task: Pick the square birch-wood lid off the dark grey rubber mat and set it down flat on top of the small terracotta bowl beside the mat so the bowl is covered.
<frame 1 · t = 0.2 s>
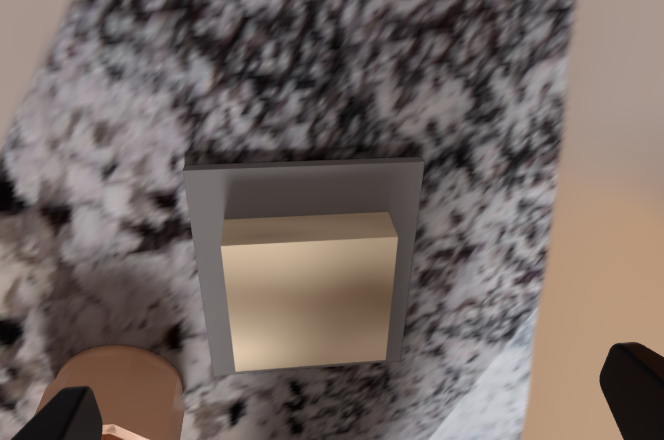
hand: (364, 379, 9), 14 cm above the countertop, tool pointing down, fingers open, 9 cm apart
mat: (307, 273, 25), on the countertop
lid: (307, 280, 25), resting on mat
bowl: (121, 387, 28), on the countertop
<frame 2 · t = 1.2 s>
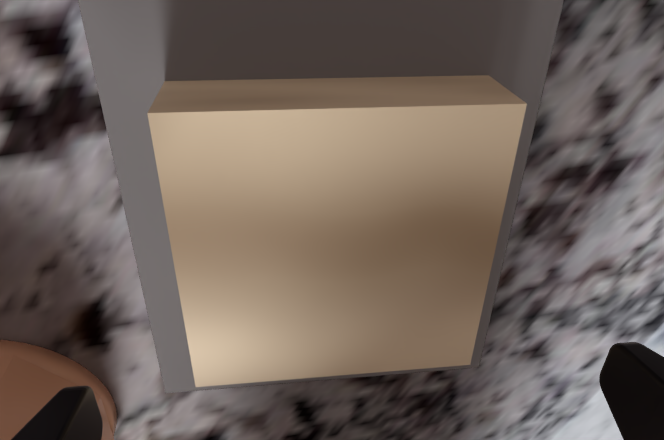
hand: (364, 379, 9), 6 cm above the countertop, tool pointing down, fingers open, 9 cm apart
mat: (327, 208, 14), on the countertop
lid: (330, 217, 13), resting on mat
bowl: (10, 412, 16), on the countertop
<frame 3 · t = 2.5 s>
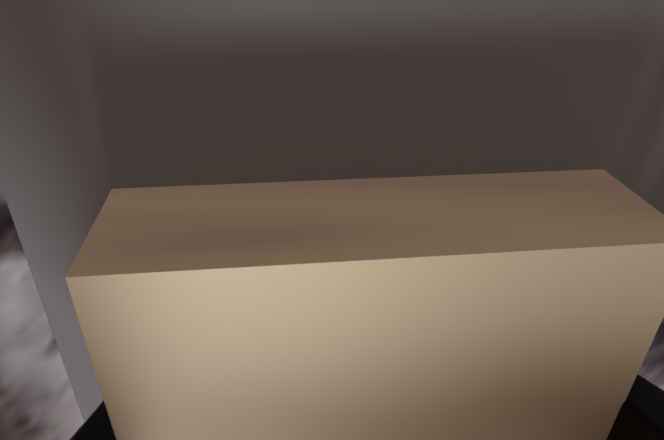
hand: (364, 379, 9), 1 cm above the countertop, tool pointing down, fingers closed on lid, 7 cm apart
mat: (355, 337, 10), on the countertop
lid: (359, 357, 9), resting on mat, touching gripper
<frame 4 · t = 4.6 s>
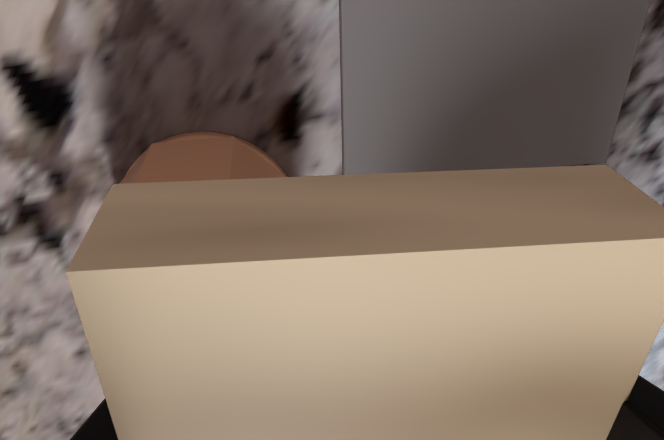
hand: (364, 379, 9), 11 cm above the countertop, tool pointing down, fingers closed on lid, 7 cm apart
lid: (361, 354, 9), point 10 cm above the countertop, touching gripper
bowl: (210, 211, 19), on the countertop
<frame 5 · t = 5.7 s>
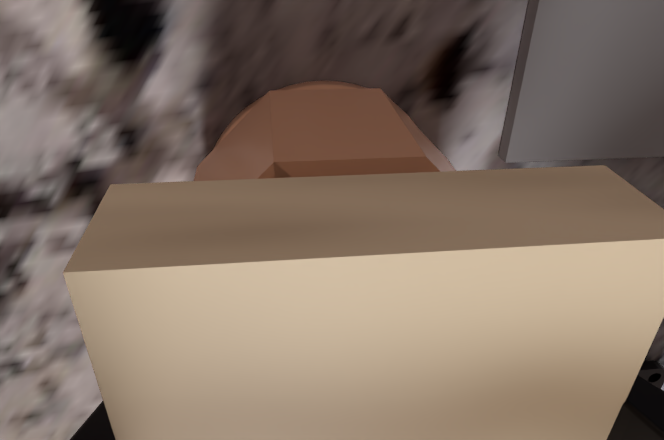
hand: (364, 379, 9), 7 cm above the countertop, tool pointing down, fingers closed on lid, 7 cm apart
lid: (359, 354, 9), point 6 cm above the countertop, touching gripper
bowl: (321, 192, 15), on the countertop
when the fingers open (6 cm above the countertop, at t = 6.7 s): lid drops 1 cm, resting on bowl.
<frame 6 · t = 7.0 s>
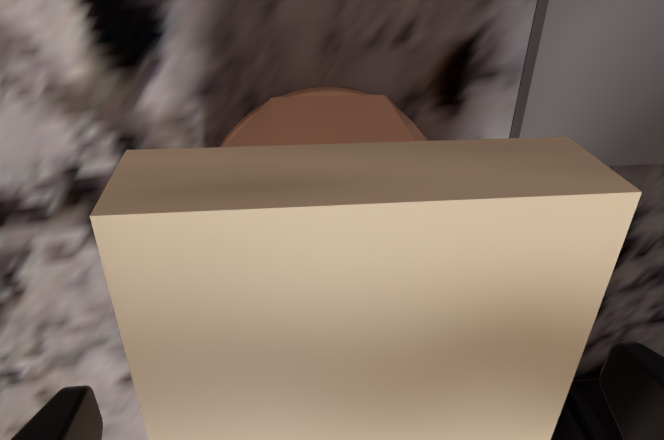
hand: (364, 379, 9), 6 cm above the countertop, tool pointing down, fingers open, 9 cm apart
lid: (349, 313, 10), point 5 cm above the countertop, touching bowl
bowl: (324, 200, 14), on the countertop, touching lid
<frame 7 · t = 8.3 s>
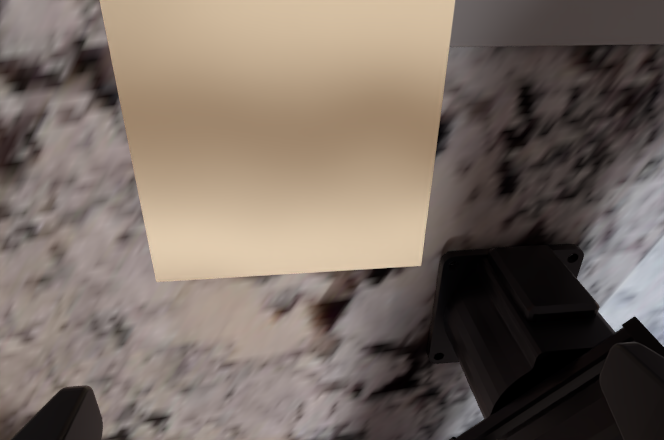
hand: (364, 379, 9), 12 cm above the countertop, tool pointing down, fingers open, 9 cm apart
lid: (285, 121, 14), point 5 cm above the countertop, touching bowl
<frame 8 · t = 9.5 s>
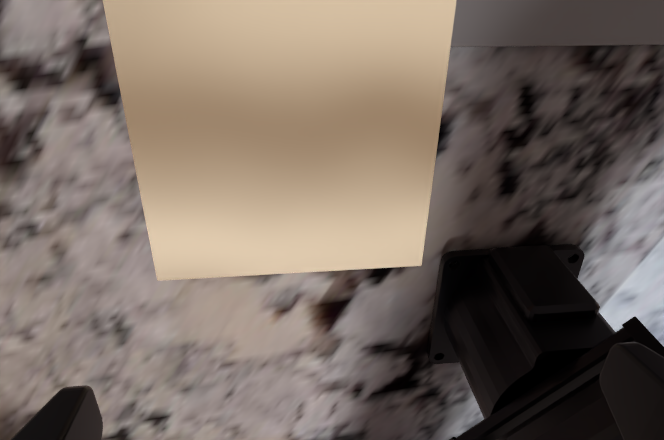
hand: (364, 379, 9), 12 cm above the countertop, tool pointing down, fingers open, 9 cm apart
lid: (286, 121, 14), point 5 cm above the countertop, touching bowl
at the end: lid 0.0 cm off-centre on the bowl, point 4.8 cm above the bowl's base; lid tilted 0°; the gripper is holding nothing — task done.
